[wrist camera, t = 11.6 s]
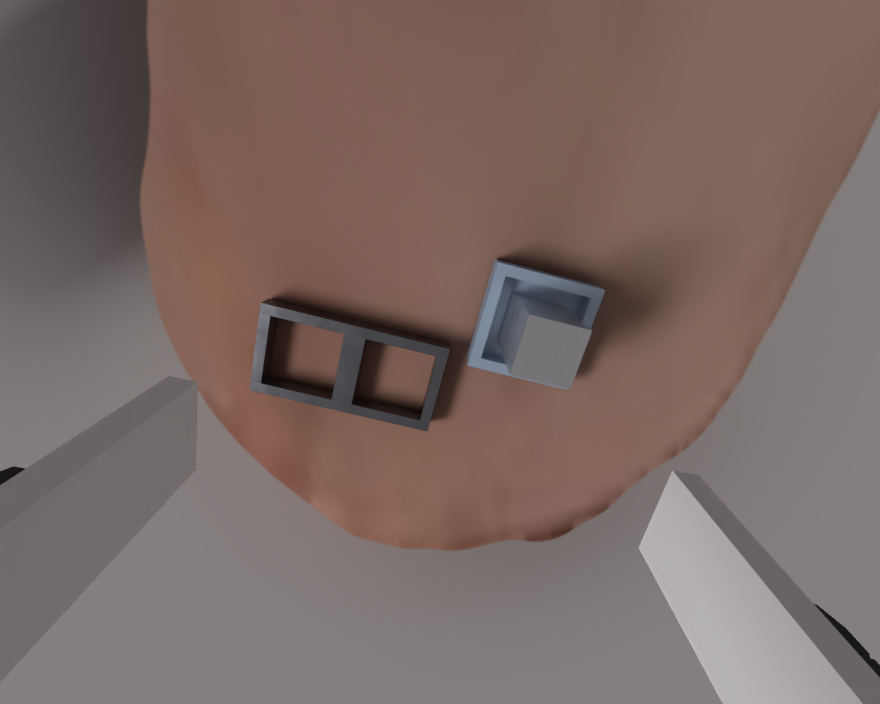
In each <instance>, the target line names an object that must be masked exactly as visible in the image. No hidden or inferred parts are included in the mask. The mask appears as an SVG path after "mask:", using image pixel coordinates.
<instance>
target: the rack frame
mask: <svg viewBox="0 0 880 704" xmlns="http://www.w3.org/2000/svg"><path fill="white" fill-rule="evenodd" d="M277 317H278V318H282V319H286V320H290V321H294V322H298V323H302V324H306V325H310V326H314V327H319V328H323V329H327V330H331V331H335V332H339V333H343V334H344V338H343V343H342V349H341V354H340V359H339V364H338V369H337V374H336V379H335V385H334V390H333V391H331V390H326V389H322V388H318V387H314V386H309V385H305V384H301V383H296V382H292V381H288V380H284V379H279V378H275V377H271V376H269V369H270V362H271V355H272V348H273V341H274V334H275V327H276V320H277ZM367 339H368V340H372V341H376V342H380V343H384V344H388V345H392V346H396V347H401V348H405V349H409V350H413V351H417V352H421V353H425V354H429V355H433V356H436V358H435V361H434V365H433V369H432V373H431V376H430V380H429V384H428V388H427V391H426V395H425V399H424V403H423V407H422V410H421V412H420V411H416V410H412V409H407V408H403V407H399V406H395V405H390V404H386V403H382V402H377V401H373V400H369V399H365V398H360V397H356V396H355V395H356V390H357V386H358V381H359V376H360V372H361V367H362V362H363V357H364V353H365V348H366V343H367ZM449 351H450V343H447V342H443V341H439V340H435V339H431V338H427V337H423V336H419V335H415V334H411V333H407V332H403V331H399V330H395V329H391V328H387V327H383V326H379V325H374V324H370V323H366V322H362V321H358V320H354V319H350V318H346V317H342V316H338V315H334V314H330V313H326V312H322V311H318V310H314V309H310V308H305V307H301V306H297V305H293V304H289V303H285V302H281V301H277V300H273V299H267V300H265V301H263V302H261V306H260V313H259V321H258V329H257V336H256V344H255V352H254V359H253V367H252V375H251V382H250V390H251V391H255V392H260V393H264V394H268V395H272V396H277V397H281V398H285V399H290V400H294V401H298V402H303V403H307V404H311V405H316V406H320V407H324V408H329V409H333V410H337V411H341V412H346V413H350V414H354V415H359V416H363V417H367V418H372V419H376V420H380V421H385V422H389V423H393V424H398V425H402V426H406V427H411V428H415V429H419V430H423V431H428V428H429V424H430V420H431V417H432V413H433V409H434V406H435V402H436V398H437V395H438V391H439V388H440V384H441V380H442V377H443V373H444V369H445V366H446V362H447V358H448V355H449Z"/></svg>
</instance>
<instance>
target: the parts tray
mask: <svg viewBox="0 0 880 704" xmlns="http://www.w3.org/2000/svg"><path fill="white" fill-rule="evenodd" d="M512 292H514V293H517V294H521V295H525V296H529V297H533V298H537V299H541V300H545V301H548V302H552V303H556V304H560V305H563V306H564V307H565V308H567V309H568V310H569V311H570V312H571V313H572V314H574V315H575V316H576V317H577V318H578V319H579V320H581V321H582V322H583V323H584V324H585V325H587V326H588V327H589V328H590V329H591V327H592V325H593V322H594V319H595V317H596V314H597V311H598V309H599V306H600V303H601V301H602V298H603V295H604V293H605V290H604V289H602V288H600V287H599V286H597V285H593V284H589V283H586V282H582V281H578V280H574V279H570V278H566V277H563V276H559V275H555V274H551V273H547V272H544V271H540V270H536V269H532V268H528V267H524V266H521V265H517V264H513V263H509V262H505V261H501V260H498V259H495V261H494V264H493V268H492V271H491V274H490V278H489V281H488V285H487V288H486V292H485V295H484V299H483V302H482V306H481V309H480V312H479V316H478V319H477V323H476V326H475V330H474V333H473V337H472V340H471V344H470V347H469V351H468V354H467V363H468V366H471V367H475V368H480V369H484V370H488V371H492V372H496V373H500V374H504V375H508V376H512V375H510V374H509V372H508V369H507V367H506V364H505V361H504V359H503V356H502V353H501V351H500V348H499V346H498V343H497V340H498V336H499V333H500V330H501V327H502V323H503V320H504V317H505V314H506V310H507V307H508V304H509V301H510V297H511V294H512ZM512 377H517V376H512ZM517 378H521V377H517ZM521 379H525V378H521ZM525 380H529V379H525ZM529 381H533V380H529ZM533 382H537V381H533ZM537 383H541V382H537ZM541 384H545V383H541ZM545 385H549V384H545ZM549 386H553V385H549ZM553 387H557V386H553ZM558 388H562V387H558ZM562 389H566V388H562ZM566 390H568V389H566Z"/></svg>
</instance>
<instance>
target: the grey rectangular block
mask: <svg viewBox="0 0 880 704" xmlns="http://www.w3.org/2000/svg"><path fill="white" fill-rule="evenodd" d="M591 333H592V330H591V329H590V328H589V327H588V326H587V325H585V324H584V323H583V322H582V321H581V320H579V319H578V318H577V317H576V316H575V315H574V314H572V313H571V312H570V311H569V310H568V309H567V308H565V307H564V306H563V305H560V304H556V303H552V302H548V301H545V300H541V299H537V298H533V297H529V296H525V295H521V294H517V293H514V292H512V294H511V297H510V301H509V304H508V307H507V310H506V314H505V317H504V320H503V323H502V327H501V330H500V333H499V336H498V340H497V343H498V346H499V348H500V351H501V353H502V356H503V359H504V361H505V364H506V367H507V369H508V372H509V374H510V375H512V376H517V377H521V378H525V379H529V380H533V381H537V382H541V383H545V384H549V385H553V386H557V387H562V388H566V389H571V386H572V384H573V381H574V378H575V376H576V373H577V370H578V368H579V365H580V362H581V360H582V357H583V354H584V352H585V349H586V346H587V344H588V341H589V338H590V336H591Z"/></svg>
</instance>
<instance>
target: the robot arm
mask: <svg viewBox="0 0 880 704" xmlns="http://www.w3.org/2000/svg"><path fill="white" fill-rule="evenodd" d="M197 393H198V382H196V381H191V380H185V379H180V378H175V377H167V378H165V379H164V380H162V381H160V382H159V383H157V384H156V385H154V386H153V387H151V388H150V389H148V390H147V391H145V392H143V393H142V394H140V395H139V396H137V397H136V398H134V399H133V400H131V401H130V402H128V403H126V404H125V405H123V406H122V407H120V408H119V409H117V410H116V411H114V412H113V413H111V414H110V415H108V416H107V417H105V418H103V419H102V420H100V421H99V422H97V423H96V424H94V425H93V426H91V427H89V428H88V429H86V430H85V431H83V432H82V433H80V434H79V435H77V436H76V437H74V438H72V439H71V440H70V441H68V442H66V443H65V444H63V445H62V446H60V447H59V448H57V449H56V450H54V451H52V452H51V453H49V454H48V455H46V456H45V457H43V458H42V459H40V460H39V461H37V462H35V463H34V464H32V465H31V466H29V467H28V468H26V469H24V468H19V467H10V468H8V469H5V470H3V471H0V682H1V680H3V679H4V677H5V676H6V675H7V674H8V673H9V672H10V671H11V670H12V669H13V667H15V665H16V664H17V663H18V662H19V661H20V660H21V659H22V658H23V657H24V656H25V654H26V653H27V652H28V651H29V650H30V649H31V648H32V647H33V646H34V645H35V644H36V643H37V641H38V640H39V639H40V638H41V637H42V636H43V635H44V634H45V633H46V632H47V631H48V629H50V627H51V626H52V625H53V624H54V623H55V622H56V621H57V620H58V619H59V618H60V617H61V615H62V614H63V613H64V612H65V611H66V610H67V609H68V608H69V607H70V606H71V605H72V603H73V602H74V601H75V600H76V599H77V598H78V597H79V596H80V595H81V594H82V593H83V592H84V590H85V589H86V588H87V587H88V586H89V585H90V584H91V583H92V582H93V581H94V580H95V578H96V577H97V576H98V575H99V574H100V573H101V572H102V571H103V570H104V569H105V568H106V566H107V565H108V564H109V563H110V562H111V561H112V560H113V559H114V558H115V557H116V556H117V555H118V553H119V552H120V551H121V550H122V549H123V548H124V547H125V546H126V545H127V544H128V543H129V542H130V540H131V539H132V538H133V537H134V536H135V535H136V534H137V533H138V532H139V531H140V529H141V528H142V527H143V526H144V525H145V524H146V523H147V522H148V521H149V520H150V518H152V516H153V515H154V514H155V513H156V512H157V511H158V510H159V509H160V508H161V507H162V505H164V503H165V502H166V501H167V500H168V499H169V498H170V497H171V496H172V495H173V494H174V492H175V491H176V490H177V489H178V488H179V487H180V486H181V485H182V484H183V483H184V482H185V481H186V480H187V478H188V477H189V476H190V475H191V474H192V473H193V472H194V471H195V470H196V439H197V437H196V436H197ZM639 549H640V551H641V553H642V555H643V557H644V559H645V560H646V562H647V564H648V566H649V568H650V570H651V572H652V573H653V575H654V577H655V579H656V581H657V583H658V585H659V586H660V588H661V590H662V592H663V594H664V595H665V597H666V599H667V601H668V603H669V605H670V607H671V609H672V610H673V612H674V614H675V616H676V618H677V619H678V621H679V623H680V625H681V627H682V629H683V631H684V633H685V634H686V636H687V638H688V639H689V642H690V644H691V646H692V647H693V649H694V651H695V653H696V655H697V656H698V659H699V660H700V662H701V664H702V666H703V668H704V669H705V671H706V673H707V675H708V677H709V679H710V681H711V683H712V684H713V686H714V688H715V690H716V692H717V694H718V695H719V697H720V699H721V701H722V703H723V704H880V665H879V664H878V663H877V662H876V661H875V660H874V659H871V658H870V656H869V655H870V654H869V653H868V652H867V651H866V650H865V649H864V647H863V646H861V644H860V643H859V642H858V641H857V640H856V639H855V638H854V637H853V636H852V634H851V633H850V632H849V631H848V630H847V629H846V628H845V627H844V626H842V625H841V624H840V623H839V622H837V621H836V620H835V619H834V618H832V617H831V616H830V615H829V614H827V613H826V612H825V611H824V610H823V609H821V608H820V607H819V606H818V605H815V604H813V602H812V601H810V599H809V598H808V597H807V596H806V595H805V594H804V593H803V591H802V590H801V589H800V588H799V587H798V586H797V585H796V584H795V583H794V581H793V580H792V579H791V578H790V577H789V576H788V575H787V573H786V572H785V571H784V570H783V569H782V568H781V567H780V566H779V564H777V562H776V561H775V560H774V559H773V558H772V557H771V556H770V554H769V553H768V552H767V551H766V550H765V549H764V548H763V547H762V546H761V544H760V543H759V542H758V541H757V540H756V539H755V538H754V537H753V535H752V534H751V533H750V532H749V531H748V530H747V529H746V528H745V527H744V525H743V524H742V523H741V522H740V521H739V520H738V519H737V518H736V516H734V514H733V513H732V512H731V511H730V510H729V509H728V508H727V506H726V505H725V504H724V503H723V502H722V501H721V500H720V499H719V497H718V496H717V495H716V494H715V493H714V492H713V491H712V490H711V489H710V487H709V486H708V485H707V484H706V483H705V482H704V481H703V480H702V479H701V477H700V476H698V475H694V474H688V473H683V472H678V471H672V473H671V475H670V477H669V480H668V482H667V484H666V487H665V489H664V491H663V494H662V496H661V498H660V500H659V503H658V505H657V507H656V509H655V512H654V514H653V516H652V519H651V521H650V523H649V525H648V528H647V530H646V532H645V535H644V537H643V539H642V541H641V544H640V546H639Z"/></svg>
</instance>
